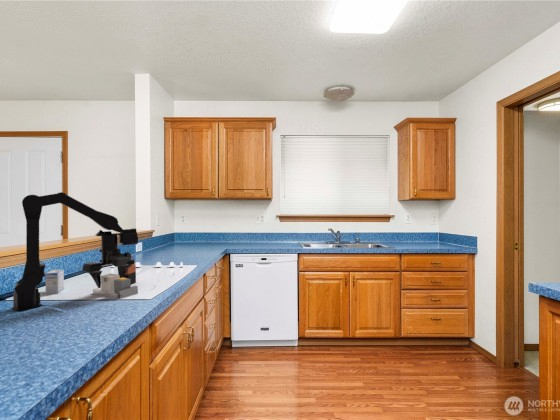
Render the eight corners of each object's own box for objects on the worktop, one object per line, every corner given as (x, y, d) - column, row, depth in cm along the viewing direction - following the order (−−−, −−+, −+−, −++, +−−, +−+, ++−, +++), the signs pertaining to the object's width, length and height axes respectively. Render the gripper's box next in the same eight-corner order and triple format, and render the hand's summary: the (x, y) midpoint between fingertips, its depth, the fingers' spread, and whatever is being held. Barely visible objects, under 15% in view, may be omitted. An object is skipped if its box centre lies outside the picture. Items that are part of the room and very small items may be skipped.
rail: (120, 300, 117) (120, 290, 117) (93, 294, 125) (92, 286, 125) (137, 294, 124) (137, 286, 124) (111, 290, 132) (110, 281, 132)
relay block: (121, 296, 120) (121, 280, 119) (114, 295, 122) (113, 279, 122) (130, 294, 123) (130, 277, 123) (123, 292, 125) (123, 276, 125)
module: (110, 294, 123) (110, 277, 123) (101, 292, 125) (100, 275, 125) (120, 292, 126) (119, 274, 126) (110, 290, 129) (110, 273, 129)
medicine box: (51, 290, 134) (51, 270, 133) (64, 289, 135) (63, 269, 135) (45, 295, 126) (44, 273, 126) (58, 293, 128) (58, 272, 128)
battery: (118, 287, 136) (118, 264, 136) (127, 283, 143) (126, 261, 143) (128, 287, 136) (127, 264, 136) (136, 283, 142) (136, 261, 142)
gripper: (99, 250, 114) (100, 293, 114) (143, 244, 130) (143, 282, 130) (81, 249, 119) (82, 290, 119) (125, 243, 135) (126, 279, 136)
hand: (110, 285), depth 126 cm, fingers open, 9 cm apart
